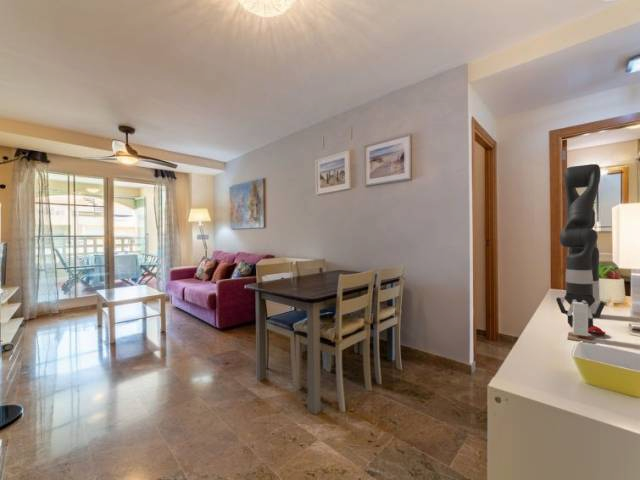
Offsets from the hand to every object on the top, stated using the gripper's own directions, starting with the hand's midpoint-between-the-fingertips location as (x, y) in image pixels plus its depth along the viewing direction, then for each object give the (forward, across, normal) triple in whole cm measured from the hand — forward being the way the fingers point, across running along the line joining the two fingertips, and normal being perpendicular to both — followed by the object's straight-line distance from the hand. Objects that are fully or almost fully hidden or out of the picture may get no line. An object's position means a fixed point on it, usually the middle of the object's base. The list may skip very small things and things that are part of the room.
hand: (580, 326), depth 106 cm
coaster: (+5, 0, 0) cm, 5 cm away
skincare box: (+3, 0, 0) cm, 3 cm away
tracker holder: (+5, -2, -10) cm, 11 cm away
